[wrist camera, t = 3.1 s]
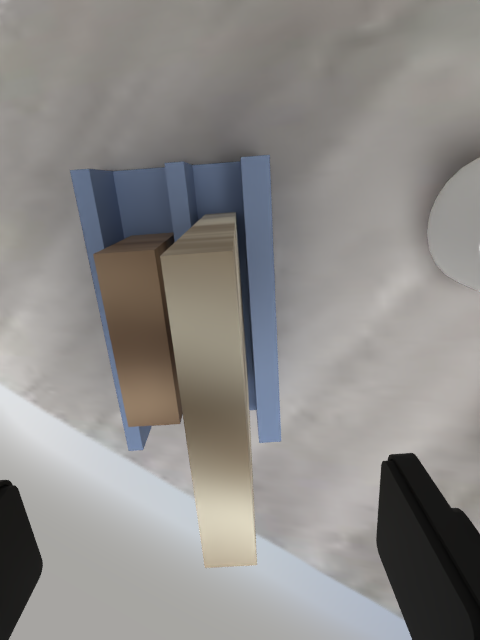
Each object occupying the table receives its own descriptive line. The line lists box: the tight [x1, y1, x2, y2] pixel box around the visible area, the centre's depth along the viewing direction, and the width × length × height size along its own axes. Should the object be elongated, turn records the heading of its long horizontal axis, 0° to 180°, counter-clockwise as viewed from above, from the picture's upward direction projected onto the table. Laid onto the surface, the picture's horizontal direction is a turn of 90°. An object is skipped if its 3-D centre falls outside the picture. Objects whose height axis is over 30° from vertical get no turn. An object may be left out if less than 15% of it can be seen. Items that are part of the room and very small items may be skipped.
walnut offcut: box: [93, 233, 183, 427], centre depth 23 cm, size 10×3×7 cm, turn 4°
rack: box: [70, 155, 281, 451], centre depth 25 cm, size 18×10×5 cm, turn 4°
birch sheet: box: [160, 212, 257, 568], centre depth 19 cm, size 12×2×15 cm, turn 4°
